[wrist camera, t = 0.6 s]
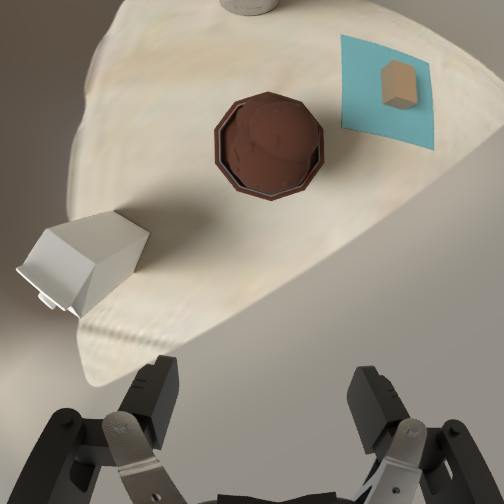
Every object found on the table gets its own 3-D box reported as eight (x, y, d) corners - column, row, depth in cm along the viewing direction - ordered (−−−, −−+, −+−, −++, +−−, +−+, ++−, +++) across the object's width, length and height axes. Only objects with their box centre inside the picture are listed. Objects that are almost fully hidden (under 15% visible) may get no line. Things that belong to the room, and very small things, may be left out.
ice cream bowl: (236, 106, 32) (224, 59, 18) (317, 131, 33) (357, 100, 18) (213, 180, 35) (184, 180, 20) (294, 205, 35) (321, 221, 21)
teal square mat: (339, 36, 29) (349, 20, 24) (425, 64, 30) (442, 55, 24) (340, 128, 33) (352, 120, 28) (431, 150, 33) (450, 148, 28)
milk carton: (112, 209, 36) (20, 236, 17) (151, 232, 37) (72, 278, 18) (97, 250, 37) (13, 297, 19) (133, 273, 38) (60, 337, 20)
